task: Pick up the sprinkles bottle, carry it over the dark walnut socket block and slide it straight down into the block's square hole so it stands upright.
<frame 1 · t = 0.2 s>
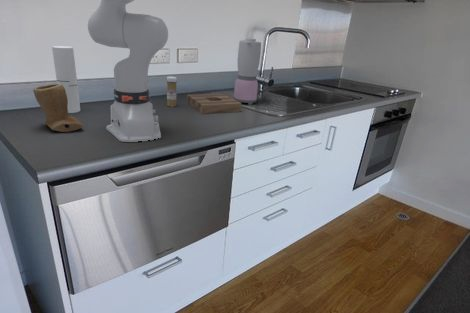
tan boot vase: (60, 127, 112), on the worktop
cylindrical container: (70, 111, 131), on the worktop
socket block: (213, 107, 154), on the worktop
sprinkles bottle: (171, 106, 151), on the worktop
blender: (244, 101, 170), on the worktop
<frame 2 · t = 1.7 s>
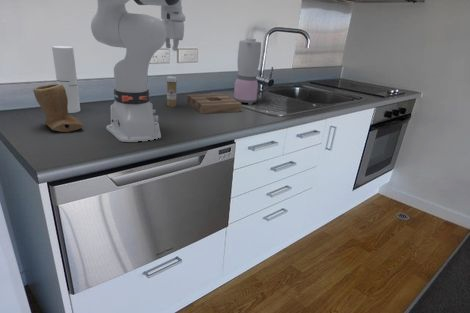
hand: (171, 49, 141), 25 cm above the worktop, tool pointing down, fingers open, 8 cm apart
nothing on the worktop moved.
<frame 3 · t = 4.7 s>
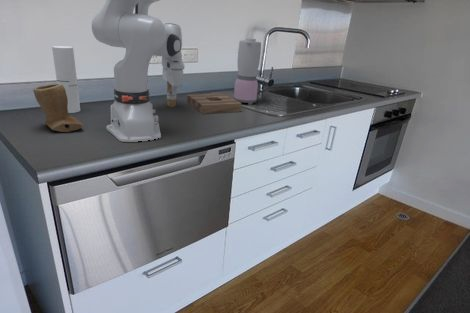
hand: (171, 92, 148), 6 cm above the worktop, tool pointing down, fingers closed on sprinkles bottle, 4 cm apart
sprinkles bottle: (171, 106, 151), on the worktop, touching gripper
everything else where it was.
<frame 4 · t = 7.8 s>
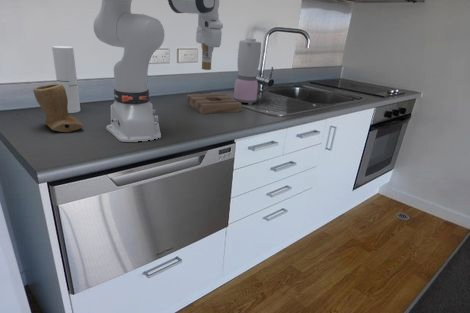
hand: (207, 55, 144), 24 cm above the worktop, tool pointing down, fingers closed on sprinkles bottle, 4 cm apart
sprinkles bottle: (206, 69, 147), point 18 cm above the worktop, touching gripper
everything else where it was.
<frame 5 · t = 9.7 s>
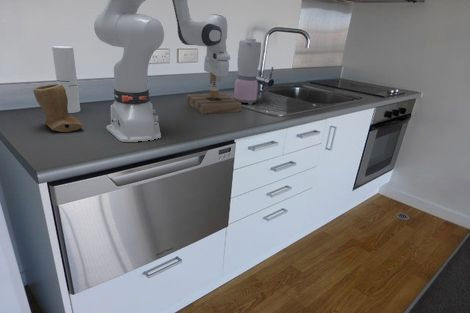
hand: (214, 84, 150), 11 cm above the worktop, tool pointing down, fingers closed on sprinkles bottle, 4 cm apart
sprinkles bottle: (213, 97, 152), point 5 cm above the worktop, touching gripper
everything else where it was.
when the fingers open (8 cm above the worktop, at t = 11.1 s): sprinkles bottle drops 1 cm, resting in socket block.
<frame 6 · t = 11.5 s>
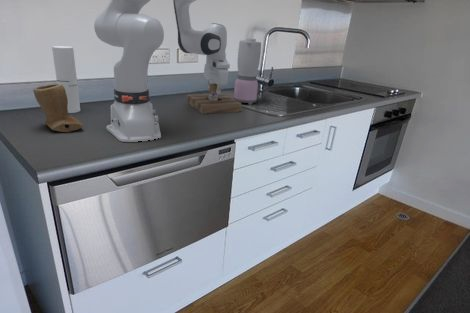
hand: (214, 91, 151), 8 cm above the worktop, tool pointing down, fingers open, 8 cm apart
sprinkles bottle: (212, 107, 155), resting in socket block
everything else where it was.
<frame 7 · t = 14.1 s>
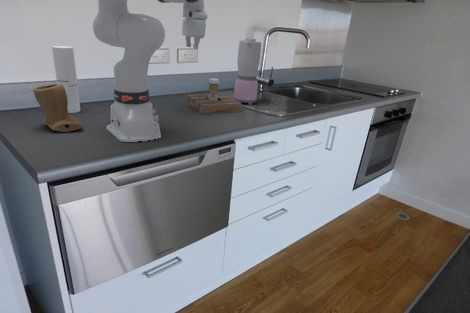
hand: (192, 47, 140), 27 cm above the worktop, tool pointing down, fingers open, 8 cm apart
nothing on the worktop moved.
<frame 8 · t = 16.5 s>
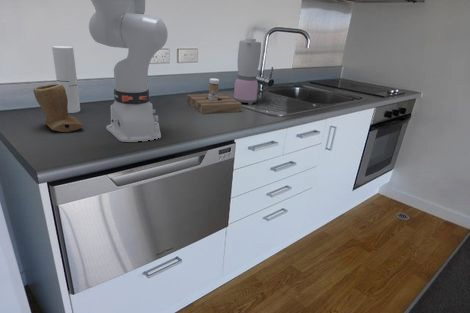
hand: (135, 26, 132), 34 cm above the worktop, tool pointing down, fingers open, 8 cm apart
nothing on the worktop moved.
at the end: sprinkles bottle 0.5 cm off-centre on the socket block, point 0.0 cm above the socket block's base; sprinkles bottle tilted 0°; the gripper is holding nothing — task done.
